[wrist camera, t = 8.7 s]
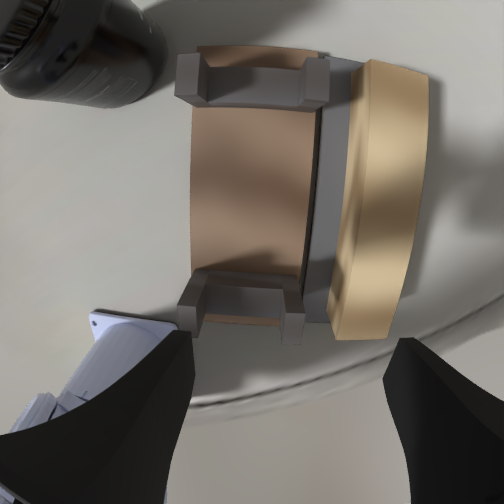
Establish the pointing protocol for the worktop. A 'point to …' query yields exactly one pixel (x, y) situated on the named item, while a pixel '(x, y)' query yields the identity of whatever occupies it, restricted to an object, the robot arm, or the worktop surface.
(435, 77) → the worktop surface
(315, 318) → the mat
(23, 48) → the supplement bottle
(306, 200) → the stand
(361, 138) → the rail
